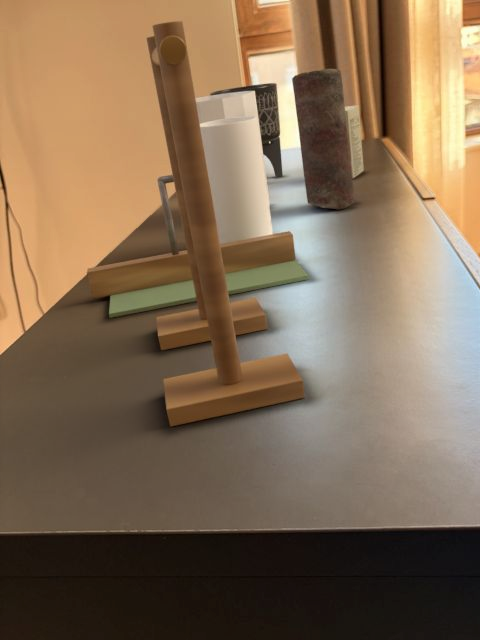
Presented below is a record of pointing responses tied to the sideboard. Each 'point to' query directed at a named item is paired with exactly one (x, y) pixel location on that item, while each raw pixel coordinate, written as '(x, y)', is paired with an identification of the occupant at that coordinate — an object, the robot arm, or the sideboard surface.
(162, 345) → the rail stand
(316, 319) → the sideboard surface
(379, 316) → the sideboard surface
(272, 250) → the hanger
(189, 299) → the mat
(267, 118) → the planter
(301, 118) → the candle
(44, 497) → the sideboard surface
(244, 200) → the cup
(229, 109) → the container
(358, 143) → the cosmetic box
